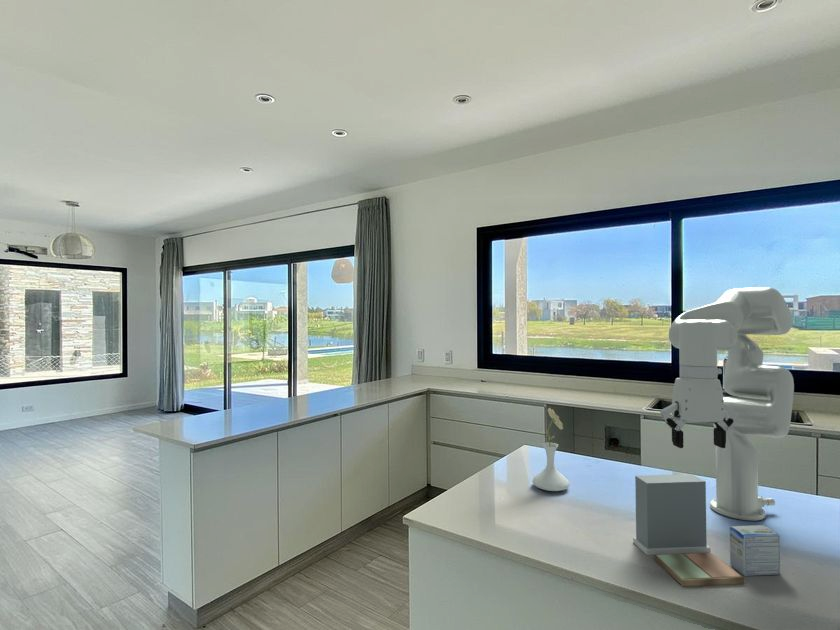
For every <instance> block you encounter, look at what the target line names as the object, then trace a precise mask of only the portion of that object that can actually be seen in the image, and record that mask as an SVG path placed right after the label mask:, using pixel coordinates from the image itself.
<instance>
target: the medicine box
mask: <svg viewBox="0 0 840 630" xmlns="http://www.w3.org/2000/svg"><path fill="white" fill-rule="evenodd" d="M729 559H730V560H729V562H730V563H729V564H730V565H731V568H733V569H735V571H736V570H737V571H736V572H739V574H740V575H741V574H742V576H743V577H744V576H746V577H748V576H771V575H773V576H774V575H776V576H777V575H781V535H780V534H779V533H778V532H776V531H774V530H773V529H771V528H769V527H767V526H766V525H763V524H762V525H758V524H757V525H735V526H734V525H733V526H730V527H729Z"/></svg>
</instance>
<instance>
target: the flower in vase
mask: <svg viewBox="0 0 840 630" xmlns="http://www.w3.org/2000/svg"><path fill="white" fill-rule="evenodd" d="M546 412H547V413H548V415H549V417H550V418H551V421H550V423H549V425H548V429H546V431H545V432H546V435H547V440H548V442H543V443H541V445H542V446H543V448H544V450H545V454H546V465H545V468H544V469H542V470H541V471H540V472H539V473H537V474H535V476H533V478H532V484H533V485H534V486H535V487H536V488H539V489H542V491H543V490H544V491H549V492H559V491H565V490H567V489H568V488H569V487H570V481H569V479H568V478H566V476H564V474H562V473H561V472H560V471H559V470H557V469H556V466H555V454H556V451H557V448H558V447H559V444H558V443H555V442H550V441H551V440H552V439H554V438H555V437H556V436H555V435H552V436H551V437H550V434H549V432H550V428H551V425H552V423H554V424H555V425H556V427H557V428H558V429H559V430H563V429H564V427H563V426H564V424H563V422H562V421H561V420H560V416H559V415H557V413H556V412H555V410H554V409H551V407H549V408H548V409H547V411H546Z"/></svg>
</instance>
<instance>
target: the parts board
mask: <svg viewBox="0 0 840 630" xmlns="http://www.w3.org/2000/svg"><path fill="white" fill-rule="evenodd" d="M653 561H655V562H656V563H657V564H658V565H659V566H660V567H661V568H662V569H663V570H665V572H667V574H668V575H670V576H671V577H672V578H673V577H674V578H675V579H676V580H677V581H678V582H679V583H680V584H681V585H680V584H679V585H680V586H681V587H694V586H695V587H699V586H700V587H701V586H716V585H717V586H718V585H719V586H720V585H723V586H724V585H743V584H745V577H744V575H741V573H740V572H739V573H738V571H736V570H734V568H733V567H730V566H729V564H727V563H725V562H724V561H723V560H721V559H720V558H718V557H717V556H715V555H714V554H713V553H712V552H711V551H710V552H703V553H678V554H654V555H653ZM674 578H673V579H674ZM675 579H674V580H675ZM676 580H675V581H676ZM677 581H676V582H677ZM678 582H677V583H678Z"/></svg>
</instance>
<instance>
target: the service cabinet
mask: <svg viewBox="0 0 840 630" xmlns="http://www.w3.org/2000/svg"><path fill="white" fill-rule="evenodd" d="M634 478H635V485H634V486H635V487H634V488H635V536H633V538H632V542H633V543H634V545H636V546H637V548H639V550H641V551H642V552H643V553H644V554H645V555H646V556H654V554H678V553H703V552H710V553H711V547H710V546H709V545H708V544H707V542H708V541H707V539H708V538H707V496H706V495H707V491H706V490H707V487H706V486H707V484H706V480H704V479H701V478H700V477H698V476H697V475H694V474H692V473H683V474H682V473H681V474H676V473H675V474H647V475H646V474H645V475H644V474H642V475H635V477H634Z"/></svg>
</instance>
